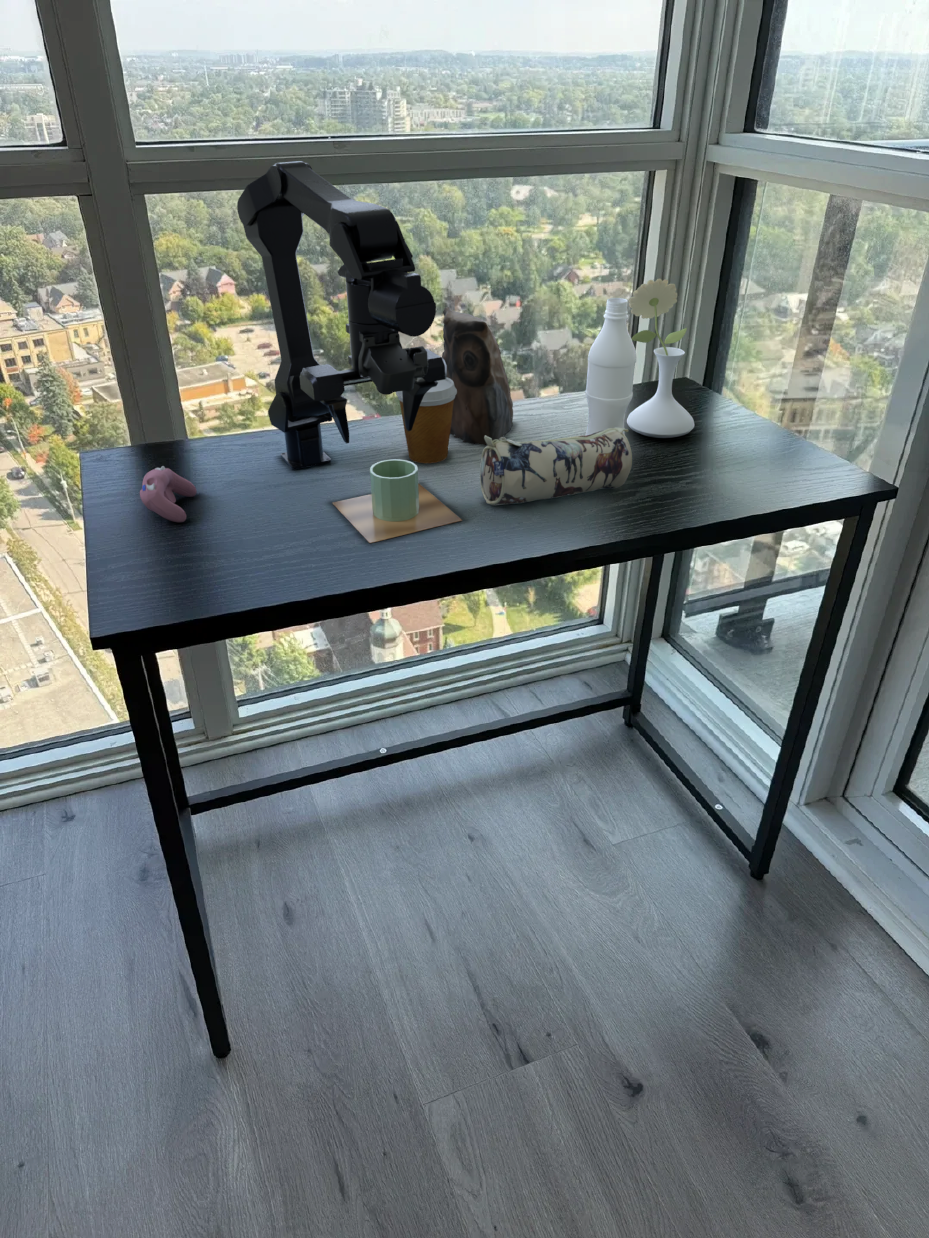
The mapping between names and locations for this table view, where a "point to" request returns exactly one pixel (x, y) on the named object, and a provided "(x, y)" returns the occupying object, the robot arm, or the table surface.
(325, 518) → the table surface
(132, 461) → the table surface
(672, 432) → the flower in vase
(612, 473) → the pencil case
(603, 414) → the water bottle
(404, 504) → the glazed cup
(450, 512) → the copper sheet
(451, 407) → the disposable coffee cup
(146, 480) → the video game controller
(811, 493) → the table surface
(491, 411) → the owl
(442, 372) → the robot arm
